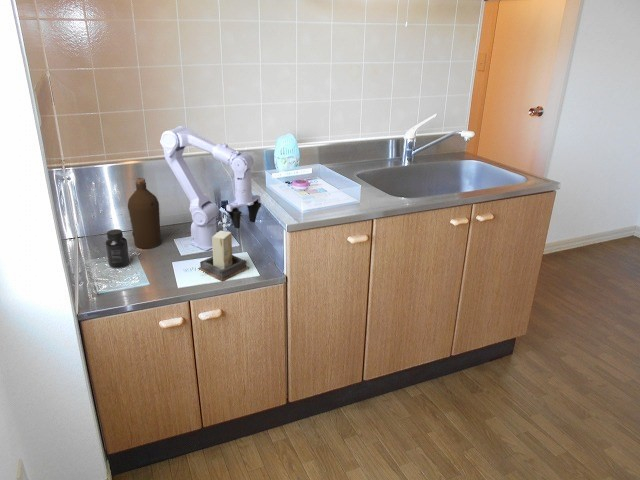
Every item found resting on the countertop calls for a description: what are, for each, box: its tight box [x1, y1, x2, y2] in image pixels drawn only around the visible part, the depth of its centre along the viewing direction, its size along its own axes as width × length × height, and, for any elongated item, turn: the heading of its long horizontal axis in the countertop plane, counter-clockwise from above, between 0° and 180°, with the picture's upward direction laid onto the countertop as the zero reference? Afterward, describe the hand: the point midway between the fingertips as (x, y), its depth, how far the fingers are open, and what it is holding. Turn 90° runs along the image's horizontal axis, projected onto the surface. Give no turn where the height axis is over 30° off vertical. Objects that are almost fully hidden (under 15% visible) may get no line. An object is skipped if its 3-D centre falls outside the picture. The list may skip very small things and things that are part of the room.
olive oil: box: [127, 177, 162, 250], centre depth 179 cm, size 11×11×25 cm
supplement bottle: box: [104, 228, 130, 269], centre depth 166 cm, size 7×7×12 cm
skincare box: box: [212, 230, 233, 270], centre depth 165 cm, size 6×4×12 cm
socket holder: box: [197, 254, 250, 282], centre depth 167 cm, size 12×12×3 cm
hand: (244, 224), depth 177 cm, fingers open, 7 cm apart
